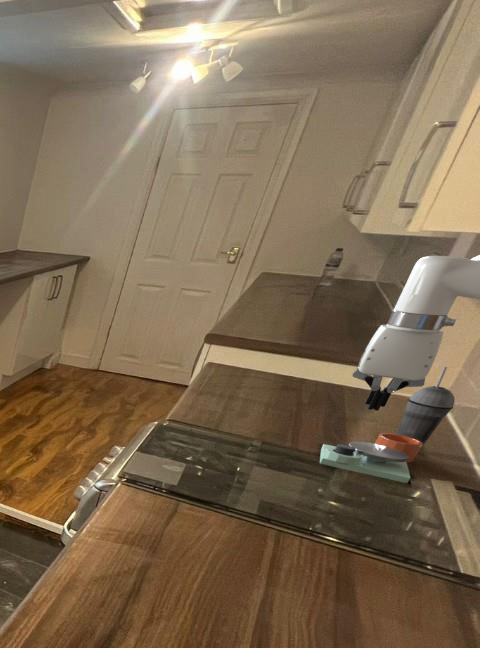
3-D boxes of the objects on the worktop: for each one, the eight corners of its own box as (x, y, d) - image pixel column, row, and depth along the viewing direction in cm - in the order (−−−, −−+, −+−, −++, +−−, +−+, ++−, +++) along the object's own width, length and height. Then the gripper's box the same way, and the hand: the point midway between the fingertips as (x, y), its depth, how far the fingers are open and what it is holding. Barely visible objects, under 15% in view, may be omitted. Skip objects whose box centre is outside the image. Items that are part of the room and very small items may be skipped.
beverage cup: (397, 453, 137) (443, 370, 128) (376, 442, 143) (418, 362, 134) (434, 457, 135) (483, 373, 126) (411, 445, 142) (456, 365, 133)
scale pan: (398, 465, 130) (407, 450, 128) (401, 478, 123) (410, 462, 122) (341, 453, 136) (349, 438, 134) (341, 465, 129) (349, 449, 128)
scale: (403, 467, 129) (410, 454, 128) (407, 484, 121) (414, 471, 120) (320, 449, 138) (326, 437, 136) (319, 464, 129) (325, 452, 128)
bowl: (410, 458, 134) (421, 438, 132) (412, 467, 129) (424, 447, 127) (368, 450, 138) (378, 430, 136) (369, 458, 133) (380, 438, 131)
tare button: (351, 453, 128) (355, 446, 128) (352, 457, 126) (355, 450, 126) (334, 450, 130) (337, 442, 130) (333, 453, 128) (337, 446, 128)
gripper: (467, 324, 114) (420, 412, 122) (363, 314, 123) (326, 397, 131) (473, 329, 109) (424, 421, 117) (364, 319, 118) (326, 404, 126)
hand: (372, 408), depth 124 cm, fingers closed
